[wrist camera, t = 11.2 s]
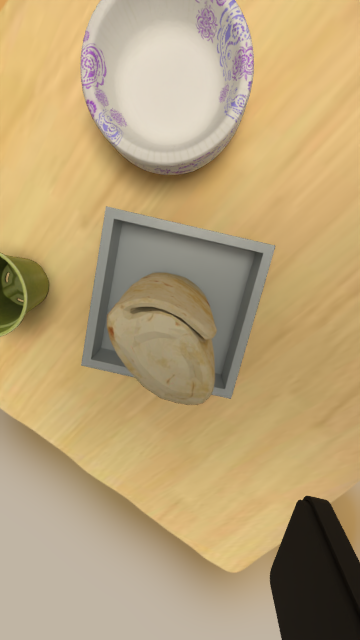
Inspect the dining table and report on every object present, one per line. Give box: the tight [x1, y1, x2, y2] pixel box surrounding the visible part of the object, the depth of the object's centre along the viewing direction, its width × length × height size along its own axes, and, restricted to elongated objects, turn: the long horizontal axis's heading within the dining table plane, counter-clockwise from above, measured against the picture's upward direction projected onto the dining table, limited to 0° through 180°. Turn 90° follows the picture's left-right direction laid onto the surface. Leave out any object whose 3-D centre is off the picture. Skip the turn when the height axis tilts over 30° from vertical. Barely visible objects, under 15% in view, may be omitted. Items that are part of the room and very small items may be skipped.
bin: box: [81, 207, 275, 399], centre depth 37 cm, size 18×18×5 cm
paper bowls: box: [81, 0, 254, 175], centre depth 31 cm, size 15×15×8 cm
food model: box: [107, 272, 217, 405], centre depth 29 cm, size 10×7×20 cm
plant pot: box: [0, 252, 49, 337], centre depth 36 cm, size 9×9×9 cm
